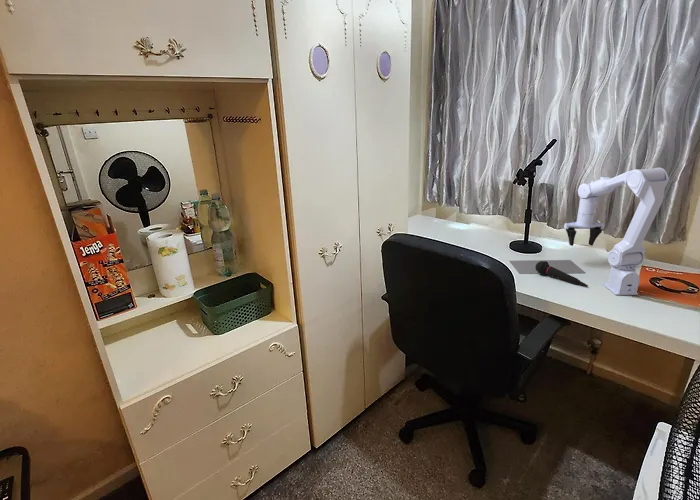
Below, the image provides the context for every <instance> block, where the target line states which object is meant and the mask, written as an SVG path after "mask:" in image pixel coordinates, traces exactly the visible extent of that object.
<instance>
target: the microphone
mask: <svg viewBox="0 0 700 500" xmlns="http://www.w3.org/2000/svg"><path fill="white" fill-rule="evenodd" d="M535 268H536V270H537V271H538V272H539V275H545V273H547V275H549V276H551V277H553V278H555V279H560V280H562V281H564V282H568V283H569V284H573V285H576V286H577V285H579V286H582V287H587V288H588V287H589V285H588V284H586V283H585V282H583V281H581V279H579V278H576V277H575V276H573V275H570V273H564V272H562V271H560V270H558V269H556V268H554V267H551V266H549V264H548V262H547V261H540V262H538V263H537V264H536V266H535Z"/></svg>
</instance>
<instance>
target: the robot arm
mask: <svg viewBox="0 0 700 500" xmlns="http://www.w3.org/2000/svg"><path fill="white" fill-rule="evenodd" d="M669 181H670V176H669V175H668V173H667V171H666V169H664V168H662V167H655V168H653V167H652V168H646V169H645V168H642V169H638V168H637V169H632V170H628V171H626V172H623V173H621V174H619V175H616V176H613V177H609V176H606V175H605V176H601V177H599V179H597V180H595V179H594V180H591V181H590V183H582V184H580V185H579V186H578V189H577V194H578V197H579V202H578V203H579V204H578V210H577V216H576V221H573V222H565V223H564V225H563V228H564V229H565V232H566V234H567V237H568V244H569V245H570V246H571V247H573V246H574V243H575V238H576V235H577V230H576V229H589V237H588V245H589V246H594V243H595V241H596V240H597V238H598V237H599V236H600V235H601V233H602V232H603V229H604V228H605V223H604V222H595V221H594V219H595V213H596V207H597V202H599V198H600V197H601V196H602V195H605V194H608V193H611V192H613V191H614V190H615V188H616V187H619V186H623V185H625V186H626V185H627V186H628V187H629V189H630V190H631V191H632V192H633V194H634V195H635V196H636V198H638V199H639V200H640V201H639V203H638V206H637V208H636V210H635V212H634V215H633V216H632V219H631V221H630V222H629V225H628V228H627V230H626V232H625V235H624V236H623V238H622V240H621V241H619V242H617V243H616V244H614V245H613V248H612V249H611V250H609V251H608V254H607V261H608V264H609V265H610V270H609V275H608V280H607V282H602V283H601V284H602V285H603V286H604V287H605V288H607V290H609V291H610V292H612V294H614V295H616V296H638V293H639V292H638V288H639V284H640V279H641V277H640V275H639V274H638V273H637V271H636V268H639V265H641V264H642V263H643V262H644V260H645V253H646V250H647V249H646V248H645V246H644V245H643V243H644V241H645V238H646V236H647V234H648V232H649V230H650V229H651V228H650V227H651V226H652V223H653V222H654V220H655V218H656V216H657V214H658V211H659V209H660V208H661V206H662V203H663V201H664V199H665V198H664V197H665V191H666V187H667V185H668V183H669ZM637 292H638V293H637Z"/></svg>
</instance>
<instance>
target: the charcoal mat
mask: <svg viewBox="0 0 700 500" xmlns="http://www.w3.org/2000/svg"><path fill="white" fill-rule="evenodd" d="M540 261H547V262H548V264H549V266H551V267H554V268H556V269H558V270H560V271H562V272H564V273H566V274H586V271H584V270H583V269H582V268H581V267H580V266H579V265H577V264H576V263H574V261H572V259H550V260H549V259H548V260H547V259H544V260H543V259H539V260H536V259H535V260H531V259H530V260H509V263H510V264H511V265H512V267H513V268H514V269H515V270H516V271H517V273H518V274H520V275H521V274H522V275H523V274H524V275H527V274H531V275H532V274H539V272H538V271H537V270H536V268H535V266H536V264H537V263H538V262H540ZM545 274H547V273H545ZM545 274H544V275H545ZM539 275H540V274H539ZM547 275H548V274H547Z"/></svg>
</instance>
